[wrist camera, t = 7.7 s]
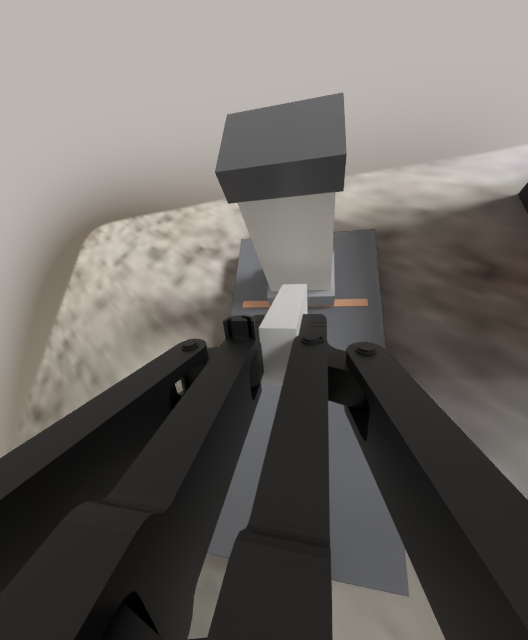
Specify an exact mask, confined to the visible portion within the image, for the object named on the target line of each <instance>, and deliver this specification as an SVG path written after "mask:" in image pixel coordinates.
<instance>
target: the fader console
mask: <svg viewBox="0 0 528 640" xmlns="http://www.w3.org/2000/svg"><path fill="white" fill-rule="evenodd" d="M333 250H334V276H335V301H334V306H307V314H323V315H324V316H325V317H326V318H327V342H328V343H329V345H331V346H332V347H334V348H336V349H340V350H344V351H346V349H347V347H348V346H349V345H350V344H352V343H357V342H371V343H374V344H377V345H380V346H381V347H383V348H384V349H385V350H386V346H385V335H384V324H383V314H382V303H381V292H380V281H379V271H378V260H377V249H376V239H375V229H370V230H357V231H344V232H333ZM267 293H268V281H267V279H266V276H265V274H264V271H263V268H262V266H261V263H260V261H259V258H258V255H257V253H256V250H255V247H254V245H253V242H252V240H251V239H241V246H240V253H239V260H238V267H237V274H236V281H235V288H234V296H233V303H232V310H231V317H232V316H236V315H249V316H252V317H253V316H254V315H266V314H267V312H268V310H269V308H270V307H271V305H270V303H269V301H268V298H267ZM261 386H262V392H261V395H260V398H259V401H258V404H257V407H256V410H255V413H254V416H253V419H252V422H251V425H250V428H249V431H248V434H247V437H246V439H245V442H244V445H243V448H242V451H241V454H240V457H239V460H238V463H237V466H236V469H235V472H234V475H233V478H232V481H231V484H230V487H229V490H228V493H227V496H226V499H225V501H224V504H223V507H222V510H221V513H220V516H219V519H218V522H217V525H216V528H215V531H214V534H213V537H212V540H211V543H210V546H209V549H208V552H207V553H208V554H212V555H217V556H222V557H226V558H230V554H231V551H232V548H233V545H234V542H235V539H236V537H237V535H238V534H239V532H240V531H241V530H243V529H245V528H246V527H247V525H248V522H249V519H250V515H251V511H252V507H253V503H254V499H255V495H256V491H257V487H258V482H259V478H260V474H261V470H262V466H263V462H264V458H265V454H266V450H267V446H268V442H269V437H270V433H271V429H272V425H273V421H274V417H275V413H276V409H277V405H278V401H279V397H280V392H281V388H282V386H279V385H264V376H263V377H262V380H261ZM328 424H329V503H330V548H331V580H334V581H338V582H343V583H348V584H352V585H357V586H362V587H366V588H371V589H375V590H380V591H385V592H389V593H394V594H399V595H403V596H408V597H409V593H408V582H407V571H406V560H405V550H404V545H403V542H402V540H401V538H400V535H399V533H398V531H397V529H396V526H395V524H394V522H393V520H392V517H391V515H390V513H389V511H388V508H387V506H386V504H385V502H384V499H383V497H382V495H381V493H380V490H379V488H378V486H377V483H376V481H375V479H374V477H373V474H372V472H371V470H370V468H369V465H368V463H367V461H366V459H365V456H364V454H363V452H362V450H361V447H360V445H359V443H358V441H357V438H356V436H355V434H354V431H353V429H352V427H351V425H350V422H349V420H348V418H347V416H346V413H345V410H344V405H341V404H338V403H335V402H332V401H328Z"/></svg>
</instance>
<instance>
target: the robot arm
mask: <svg viewBox="0 0 528 640" xmlns="http://www.w3.org/2000/svg"><path fill="white" fill-rule="evenodd" d="M223 324H224V330H225V336H226V339H225V341H224V342H223V343H222V345H221V346H220V347H216V348H209V349H207V345H206V342H205V341H204V340H201V339H192V340H191V339H189V340H187V341H184V342H181V343H179V344H177V345H176V346H174V347H173V348H171V349H170V350H168V351H166V352H165V353H163V354H162V355H160V356H159V357H157V358H156V359H154V360H152V361H151V362H149V363H148V364H146V365H145V366H143V367H142V368H140V369H138V370H137V371H135V372H134V373H132V374H131V375H129V376H128V377H126V378H124V379H123V380H121V381H120V382H118V383H117V384H115V385H114V386H112V387H110V388H109V389H107V390H106V391H104V392H103V393H101V394H100V395H98V396H96V397H95V398H93V399H92V400H90V401H89V402H87V403H86V404H84V405H82V406H81V407H79V408H78V409H76V410H75V411H73V412H72V413H70V414H68V415H67V416H65V417H64V418H62V419H61V420H59V421H58V422H56V423H54V424H53V425H51V426H50V427H48V428H47V429H45V430H44V431H42V432H40V433H39V434H37V435H36V436H34V437H33V438H31V439H30V440H28V441H26V442H25V443H23V444H22V445H20V446H19V447H17V448H16V449H14V450H12V451H11V452H9V453H8V454H6V455H5V456H3V457H2V458H0V640H187V638H188V635H189V631H190V626H191V620H192V613H193V601H194V594H195V589H196V585H197V581H198V578H199V575H200V572H201V569H202V566H203V563H204V561H205V558H206V555H207V552H208V549H209V546H210V543H211V540H212V537H213V534H214V531H215V528H216V525H217V522H218V519H219V516H220V513H221V510H222V507H223V504H224V501H225V499H226V496H227V493H228V490H229V487H230V484H231V481H232V478H233V475H234V472H235V469H236V466H237V463H238V460H239V457H240V454H241V451H242V448H243V445H244V442H245V439H246V437H247V434H248V431H249V428H250V425H251V422H252V419H253V416H254V413H255V410H256V407H257V404H258V401H259V398H260V395H261V392H262V386H261V380H262V377H263V376H264V385H279V386H282V388H281V392H280V397H279V401H278V405H277V409H276V413H275V417H274V421H273V425H272V429H271V433H270V437H269V442H268V446H267V450H266V454H265V458H264V462H263V466H262V470H261V474H260V478H259V482H258V487H257V491H256V495H255V499H254V503H253V507H252V511H251V515H250V519H249V522H248V525H247V527H246V528H245V529H243V530H241V531H240V532H239V534H238V535H237V537H236V539H235V542H234V545H233V548H232V551H231V554H230V558H229V561H228V565H227V568H226V572H225V576H224V579H223V583H222V587H221V590H220V594H219V598H218V601H217V605H216V608H215V612H214V616H213V619H212V623H211V627H210V630H209V634H208V637H207V638H198V639H189V640H332V587H331V548H330V503H329V424H328V401H332V402H335V403H338V404H341V405H344V410H345V413H346V416H347V418H348V420H349V422H350V425H351V427H352V429H353V431H354V434H355V436H356V438H357V441H358V443H359V445H360V447H361V450H362V452H363V454H364V456H365V459H366V461H367V463H368V465H369V468H370V470H371V472H372V474H373V477H374V479H375V481H376V483H377V486H378V488H379V490H380V493H381V495H382V497H383V499H384V502H385V504H386V506H387V508H388V511H389V513H390V515H391V517H392V520H393V522H394V524H395V526H396V529H397V531H398V533H399V535H400V538H401V540H402V542H403V545H404V547H405V549H406V551H407V554H408V556H409V558H410V560H411V563H412V565H413V567H414V569H415V572H416V574H417V576H418V578H419V581H420V583H421V585H422V587H423V590H424V592H425V594H426V597H427V599H428V601H429V603H430V606H431V608H432V610H433V612H434V615H435V617H436V619H437V621H438V624H439V626H440V628H441V630H442V633H443V635H444V637H445V639H446V640H528V500H527V499H526V498H525V497H524V496H523V495H522V494H521V493H520V492H519V491H518V489H517V488H516V487H515V486H514V485H513V484H512V483H511V482H510V481H509V480H508V479H507V478H506V477H505V476H504V475H503V474H502V473H501V471H500V470H499V469H498V468H497V467H496V466H495V465H494V464H493V463H492V462H491V461H490V460H489V459H488V458H487V457H486V456H485V455H484V453H483V452H482V451H481V450H480V449H479V448H478V447H477V446H476V445H475V444H474V443H473V442H472V441H471V440H470V439H469V438H468V436H467V435H466V434H465V433H464V432H463V431H462V430H461V429H460V428H459V427H458V426H457V425H456V424H455V423H454V422H453V421H452V420H451V418H450V417H449V416H448V415H447V414H446V413H445V412H444V411H443V410H442V409H441V408H440V407H439V406H438V405H437V404H436V403H435V402H434V400H433V399H432V398H431V397H430V396H429V395H428V394H427V393H426V392H425V391H424V390H423V389H422V388H421V387H420V386H419V385H418V384H417V382H416V381H415V380H414V379H413V378H412V377H411V376H410V375H409V374H408V373H407V372H406V371H405V370H404V369H403V368H402V367H401V366H400V364H399V363H398V362H397V361H396V360H395V359H394V358H393V357H392V356H391V355H390V354H389V353H388V352H387V351H386V350H385V349H384V348H383V347H381V346H380V345H377V344H374V343H371V342H357V343H352V344H350V345H349V346H348V347H347V349H346V351H344V350H340V349H336V348H334V347H332V346H331V345H329V343H328V342H327V318H326V317H325V316H324V315H323V314H307V284H283V285H282V287H281V288H280V290H279V292H278V294H277V296H276V298H275V299H274V301H273V303H272V305H271V307H270V308H269V310H268V312H267V314H266V315H254V316H253V317H252V316H249V315H236V316H232V317H229V318H226V319H225V320H224V321H223ZM180 379H181V383H182V387H183V391H182V392H181V393H179V394H178V393H177V391H176V387H175V383H176V382H178V381H179V380H180Z"/></svg>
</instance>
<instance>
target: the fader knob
mask: <svg viewBox="0 0 528 640" xmlns="http://www.w3.org/2000/svg"><path fill="white" fill-rule="evenodd" d="M345 165H346V136H345V116H344V96H343V93H338V94H333V95H328V96H323V97H317V98H312V99H307V100H302V101H297V102H291V103H286V104H281V105H275V106H270V107H265V108H260V109H255V110H249V111H244V112H239V113H234V114H228V115H227V118H226V122H225V127H224V132H223V137H222V142H221V147H220V151H219V156H218V161H217V165H216V170H215V173H216V176H217V178H218V180H219V183H220V185H221V187H222V190H223V192H224V194H225V197H226V199H227V202H228V204H229V203H238V206H239V208H240V211H241V214H242V216H243V219H244V221H245V224H246V227H247V229H248V232H249V234H250V237H251V240H252V242H253V245H254V247H255V250H256V253H257V255H258V258H259V261H260V263H261V266H262V268H263V271H264V274H265V276H266V279H267V281H268V293H267V298H268V301H269V303H270V305H272V303H273V301H274V299H275V298H276V296H277V294H278V292H279V290H280V288H281V287H282V285H283V284H307V306H334V301H335V276H334V250H333V230H334V209H335V192H340V191H343V189H344V177H345Z"/></svg>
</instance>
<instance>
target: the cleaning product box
mask: <svg viewBox="0 0 528 640" xmlns="http://www.w3.org/2000/svg"><path fill="white" fill-rule="evenodd" d="M518 195H519V197H520V199H521V201H522V203H523V205H524V207H525V209H526V211H527V213H528V183H527V184H526V185H525V186H524V188H523V189H522V190H521V191H520V193H519V194H518Z"/></svg>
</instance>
